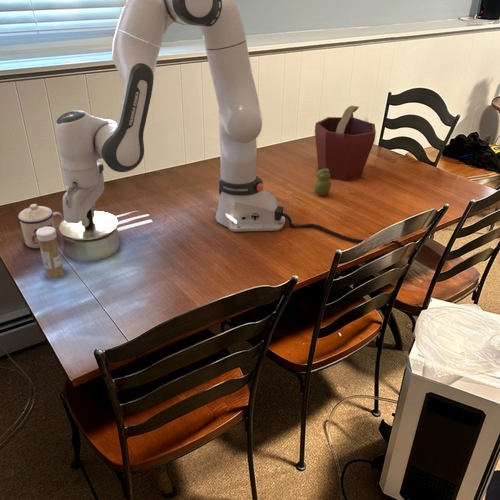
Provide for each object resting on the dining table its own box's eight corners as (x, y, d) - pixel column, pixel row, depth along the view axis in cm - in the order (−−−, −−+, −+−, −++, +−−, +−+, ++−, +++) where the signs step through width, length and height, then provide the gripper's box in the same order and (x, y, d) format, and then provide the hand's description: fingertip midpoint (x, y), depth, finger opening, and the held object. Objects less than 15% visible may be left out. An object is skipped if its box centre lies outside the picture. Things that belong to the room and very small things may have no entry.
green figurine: (321, 199, 170) (325, 173, 165) (310, 194, 174) (313, 168, 168) (332, 195, 174) (335, 169, 168) (321, 190, 177) (324, 164, 172)
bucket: (331, 156, 206) (339, 96, 192) (380, 169, 195) (392, 107, 182) (301, 174, 189) (307, 110, 175) (353, 190, 178) (364, 122, 165)
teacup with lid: (34, 253, 136) (25, 216, 130) (18, 240, 141) (9, 204, 135) (73, 237, 143) (66, 202, 137) (57, 226, 149) (50, 192, 142)
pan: (125, 237, 145) (123, 218, 141) (109, 264, 132) (107, 244, 129) (77, 233, 146) (74, 214, 142) (57, 260, 133) (53, 240, 130)
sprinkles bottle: (66, 276, 127) (57, 231, 120) (48, 281, 125) (38, 236, 118) (61, 268, 130) (52, 224, 123) (44, 273, 128) (33, 228, 121)
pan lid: (125, 216, 142) (123, 200, 139) (107, 244, 128) (105, 227, 126) (72, 212, 142) (70, 197, 140) (49, 240, 129) (46, 223, 126)
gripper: (77, 193, 118) (86, 241, 125) (105, 161, 135) (111, 206, 143) (52, 191, 118) (62, 240, 126) (83, 160, 136) (90, 204, 143)
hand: (88, 221), depth 134 cm, fingers closed on pan lid, 2 cm apart
